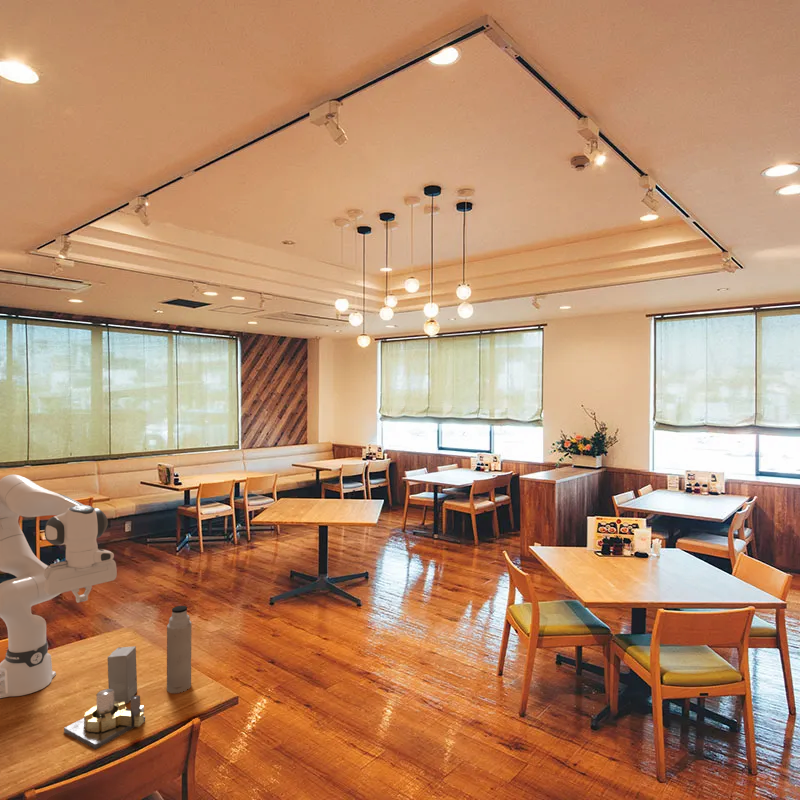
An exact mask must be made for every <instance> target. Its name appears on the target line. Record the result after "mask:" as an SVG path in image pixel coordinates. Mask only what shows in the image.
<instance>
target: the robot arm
mask: <svg viewBox="0 0 800 800" xmlns="http://www.w3.org/2000/svg"><path fill="white" fill-rule="evenodd" d="M45 516H53V517H50V518H49V519H48V520H47V521H46V524H45V525H44V530H43V531H44V538H45V540H46V541H47V542H48V543H49V544H51V545H53V546H62V545H65V560H64V561H59V562H54V563H51V564H50V565H48V564H46V563H44V562H43V561H41V559H39V558H38V557H37V556H36V555H35V553H34V552H33V550H32V548H31V547H30V545H29V543H28V541H27V538H26V536H25V534H24V532H23V531H22V527H21V526H20V523H19V520H20V517H22V518H33V517H34V518H36V517H45ZM108 523H109V522H108V518H107V515H106V514H105V513H104V511H102V510H101V509H99V508H98V507H93V506H91V505H87V504H86V505H85V504H83V503H81V502H79V501H77V500H76V499H73V498H71V497H69V496H67V495H65V494H61V493H58V492H55V491H52V490H50V489H47V488H45V487H42V486H40V485H38V483H36V482H34V481H33V480H31V479H29V478H27V477H24V476H22V475H19V474H15V473H14V474H8V475H6V476H3V477H2V478H0V572H2V573H7V574H9V575H13V576H15V578H12V579H7V580H4V581H2V582H1V583H0V619H2V621H3V622H4V623H5V625H6V628H7V639H8V644H7V645H8V647H6V648H5V657H4V659H3V660H2V661H1V662H0V699H3V698H8V697H20V696H26V695H29V694H32V693H35V692H38V691H40V690H42V689H44V688H46V687H47V686H49V685H50V684H51V683H52V681H53V678H54V677H56V675H57V673H56V671H54V670H53V664H52V663H53V662H52V655H51V654H50V653H49V652H48V651H49V649H48V648H49V644H48V640H47V622H46V620H45V618H44V617H43V616H40V615H38V614H32V607H33V606H36V605H39V604H42V603H44V602H47V601H50V600H52V599H54V598H55V597H58V596H59V595H60V594H63V593H68V592H72V594H73V595H74V597H75V602H76V603H77V604H78V603H82V602H86V601H88V600H89V598H88V597H89V595H90V593H91V591H92V589H93V588H92V587H93V586H96V585H99V584H100V585H101V584H104V583H108V582H111V581H115V580H116V578H117V575H118V573H117V572H118V571H117V563H116V561H115V560H114V557H115V554H114V553H113V552H112V551H110V550H107V549H102V548H98V547H99V546H98V542H97V539H100V537H101V536H102V535H103V534H104V533H105V531H106V529H107V527H108V525H109V524H108ZM83 588H84V589H85V591H84V592H83V594H79V593H80V590H81V589H83Z"/></svg>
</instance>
